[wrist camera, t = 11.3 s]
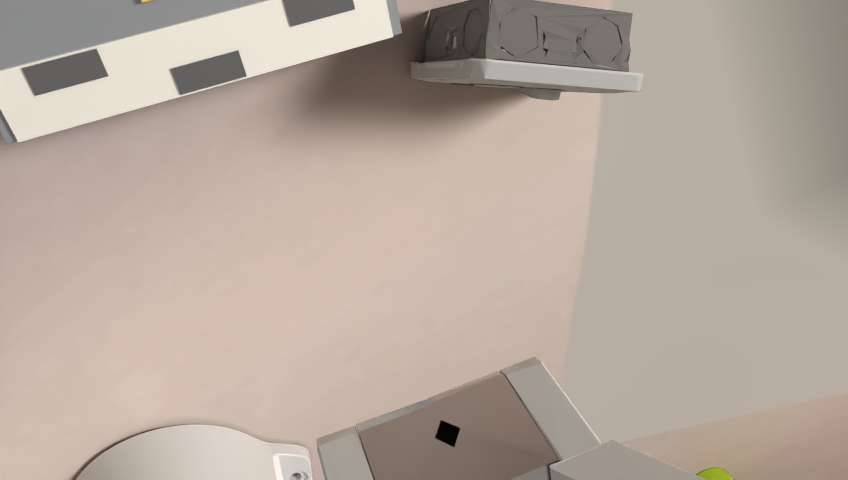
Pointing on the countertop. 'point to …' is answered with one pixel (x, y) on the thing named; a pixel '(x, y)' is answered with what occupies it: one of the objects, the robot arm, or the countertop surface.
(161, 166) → the countertop surface
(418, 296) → the countertop surface
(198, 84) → the switch unit
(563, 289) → the countertop surface
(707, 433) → the countertop surface
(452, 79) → the electrical switch
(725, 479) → the soap dispenser
